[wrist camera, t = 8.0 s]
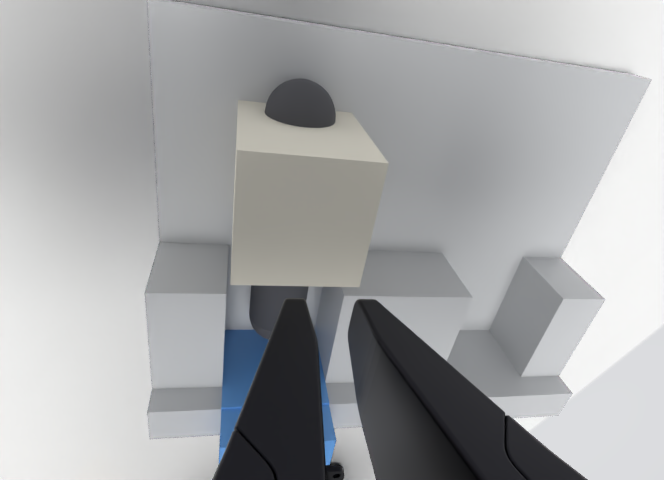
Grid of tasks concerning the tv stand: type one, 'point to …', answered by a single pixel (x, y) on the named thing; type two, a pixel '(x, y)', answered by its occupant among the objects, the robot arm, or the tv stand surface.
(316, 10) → the tv stand surface
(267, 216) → the cream cube with dome
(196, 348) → the grey backboard with ledge
